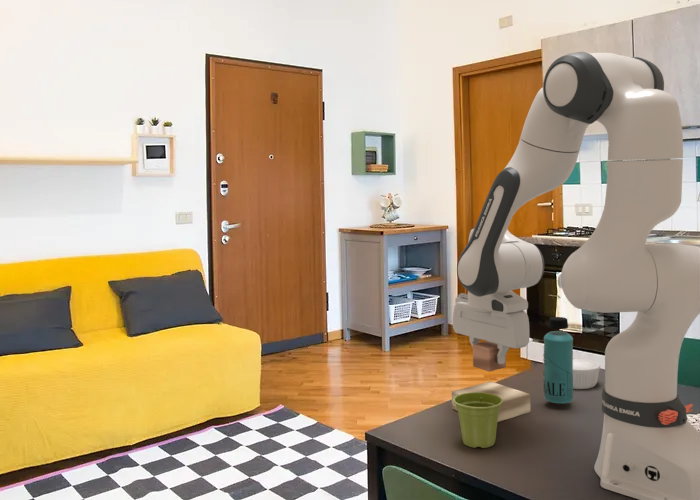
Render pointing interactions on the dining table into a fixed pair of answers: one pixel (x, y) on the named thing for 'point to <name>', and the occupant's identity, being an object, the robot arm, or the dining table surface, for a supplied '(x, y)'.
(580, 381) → the ramekin
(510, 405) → the birch base
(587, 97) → the robot arm
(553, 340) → the beverage bottle
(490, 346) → the terracotta cube
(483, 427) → the plant pot
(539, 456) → the dining table surface
